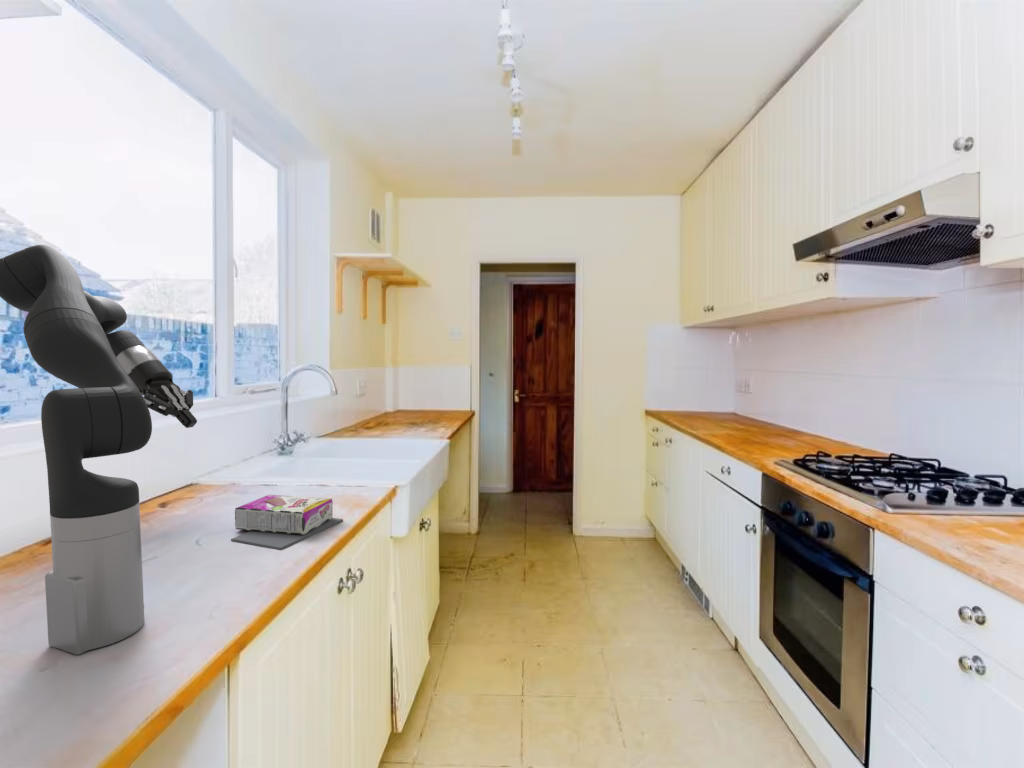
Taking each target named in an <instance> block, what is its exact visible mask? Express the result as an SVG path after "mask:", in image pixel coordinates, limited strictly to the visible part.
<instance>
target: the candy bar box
mask: <svg viewBox="0 0 1024 768" xmlns="http://www.w3.org/2000/svg"><path fill="white" fill-rule="evenodd" d="M234 517H235V518H234V520H235V521H234V522H235V523H234V527H235V529H234V530H240V531H264V532H276V533H288V534H301V535H304V534H306V533H307V532H309V531H311V530H313V529H315V528H317V527H318V526H320V525H322V524H324V523H326V522H327V521H329V520H331V519H332V518H333V498H328V497H326V498H325V497H313V496H310V497H309V496H297V495H296V496H295V495H291V496H290V495H279V494H277V495H276V494H268V495H265V496H262V497H260V498H257V499H255V500H252V501H250V502H248V503H245V504H243V505H240V506H237V507H235V508H234Z"/></svg>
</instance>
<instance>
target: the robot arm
mask: <svg viewBox="0 0 1024 768" xmlns="http://www.w3.org/2000/svg"><path fill="white" fill-rule="evenodd" d="M0 298H1V299H2V300H3V301H5V302H6V303H8V305H10V306H12V307H14V308H15V309H18V310H19V311H23V312H27V315H26V317H25V320H24V323H23V334H24V335H23V336H24V339H25V341H26V344H27V347H28V351H29V353H30V355H31V357H32V359H33V360H34V362H35V363H36V364H37V365H38V366H39V367H40V368H41V369H43V370H44V371H45V372H47V373H48V374H50V375H52V376H54V377H55V378H57V379H59V380H60V381H63V382H65V383H67V384H70V385H71V386H74V388H60V389H59V388H58V389H54V390H51V391H50V392H48V393H47V394H46V395H45V397H44V399H43V400H42V404H41V412H40V413H41V414H40V421H41V432H42V433H41V434H42V438H43V445H44V453H45V461H46V469H47V471H46V472H47V484H48V485H47V486H48V499H49V501H48V503H49V514H50V515H49V517H50V522H49V523H50V536H51V538H50V539H51V540H50V541H51V555H52V556H51V557H52V571H50V572H47V573H46V574H45V575H44V584H45V605H46V620H47V621H46V623H47V639H48V646H50V647H53V648H56V649H59V650H62V651H65V652H68V653H71V654H74V655H75V656H76V655H80V654H83V653H85V652H87V651H90V650H94V649H99V648H103V647H106V646H108V645H109V646H110V645H112V644H115V643H117V642H119V641H122V640H124V639H127V638H128V637H130V636H132V635H134V634H135V633H136V632H138V631H139V630H140V629H141V628H142V627H143V626H144V624H145V602H144V580H143V579H144V578H143V560H142V559H143V555H142V554H143V553H142V535H141V534H142V533H141V532H142V530H141V509H140V507H141V506H140V504H141V503H140V491H139V490H140V489H139V485H138V483H137V482H136V481H134V480H131V479H129V478H124V477H115V476H106V475H102V474H98V473H94V472H91V471H89V470H87V469H85V468H84V466H83V462H82V461H83V459H92V458H93V459H94V458H100V457H108V456H110V457H111V456H116V455H123V454H129V453H133V452H136V451H140V450H142V448H144V447H145V446H146V445H147V444H148V443H149V441H150V439H151V438H152V437H151V436H152V432H153V431H152V430H153V423H152V422H153V421H152V416H151V412H150V410H151V411H154V412H157V413H159V414H161V415H162V416H165V417H167V416H169V415H170V416H171V417H173V418H176V419H177V421H178V422H180V424H181V425H182V426H184V427H185V429H190V428H193V427H195V425H196V424H197V423H198V419H197V418H196V417H195V416H194V414H192V412H191V411H190V410H191V408H192V407H193V406H194V391H192V390H191V389H187V391H185V390H182V389H181V387H180V386H179V385H177V384H176V383H175V382H174V380H173V374H172V373H171V372H170V370H169V369H168V368H167V367H166V366H165V365H164V364H163V363H162V361H160V359H159V357H157V356H156V355H155V354H154V353H153V352H152V351H151V350H150V349H149V348H147V347H146V346H145V344H144V343H143V342H142V341H141V340H140V339H139V337H138V336H137V335H136V334H135V333H133V332H132V331H130V330H128V329H127V330H126V329H122V330H117V329H118V328H120V327H122V326H123V325H124V324H126V321H127V318H128V315H127V312H126V310H125V308H124V307H123V306H122V305H121V304H119V303H118V302H117V301H115V300H114V299H111V298H108V297H105V296H101V295H100V296H99V295H92V294H91V293H89V292H88V291H86V290H84V287H83V284H82V281H81V278H80V276H79V274H78V272H77V270H76V269H75V267H74V265H73V264H72V262H71V260H69V258H68V257H67V256H66V255H65V254H64V253H62V252H61V251H60V250H58V248H55V247H53V246H51V245H48V244H34V245H30V246H28V247H26V248H24V249H21V250H18V251H16V252H13V253H11V254H9V255H6V256H4V257H1V258H0ZM75 387H76V388H75ZM149 409H150V410H149Z"/></svg>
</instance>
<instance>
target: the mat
mask: <svg viewBox="0 0 1024 768" xmlns="http://www.w3.org/2000/svg"><path fill="white" fill-rule="evenodd" d="M343 521H344V519H343V518H339V517H337V518H336V517H332V519H331V520H329V521H327V522H326V523H324V524H322V525H320V526H318V527H317V528H315V529H313V530H311V531H309V532H307V533H306V534H304V535H301V534H288V533H276V532H264V531H251V530H249V531H248V532H244V533H242V534H241V535H237V536H235V537H233V538H230V541H231V542H235V543H236V542H237V543H241V544H246V545H251V546H258V547H263V548H269V549H275V550H280V551H281V550H284V549H286V548H288V547H290V546H293V545H294V544H297V543H299V542H301V541H304V540H305V539H307V538H310V537H311V536H314V535H316V534H318V533H320V532H323V531H325V530H327V529H329V528H331V527H334V526H335V525H338V524H339V523H342V522H343Z"/></svg>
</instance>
